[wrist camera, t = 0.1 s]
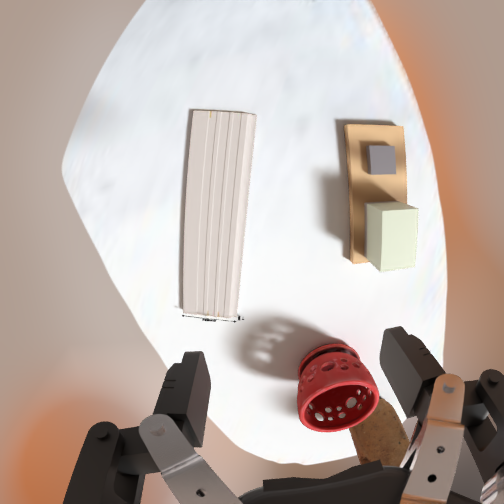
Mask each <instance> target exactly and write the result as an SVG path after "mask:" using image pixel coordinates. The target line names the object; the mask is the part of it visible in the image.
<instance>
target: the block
mask: <svg viewBox="0 0 504 504" xmlns="http://www.w3.org/2000/svg"><path fill="white" fill-rule="evenodd" d="M361 408H362V406H359V409H361ZM349 430H350V433H351V436H352V439H353V442H354V445H355V448H356V452H357V455H358V458H359V461H360V464H361V465H362V464H366V463H369V462H373V461H376V460H380V461H381V463H382V466H396V467H400V465H401V463H402V461H403V459H404V457H405V454H406V452H407V449H408V446H409V444H410V442H409V439H408V437H407V435H406V432H405V430H404V428H403V425H402V423H401V421H400V419H399V417H398V415H397V413H396V411H395V410H394V408H393V407H392V405H390V404H389V403H388V402H387V401H385V399H379V402H378V404H377V406H376V408H375V410H374V411H373V412H372V413H371V414H370V415H369V416H368V417H367V418H366V419H365V420H363V421H362V422H360V423H359V424H357V425H355V426H353V427H350V428H349Z"/></svg>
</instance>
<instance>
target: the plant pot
mask: <svg viewBox="0 0 504 504" xmlns="http://www.w3.org/2000/svg"><path fill="white" fill-rule="evenodd" d="M298 377H299V384H298V395H297V406H298V414H299V419H300V421H301V422H302V424H303V425H304V426H306V427H307V428H309V429H311V430H314V431H318V432H336V431H341V430H344V429H348V428H350V427H353V426H355V425H357V424H359V423H360V422H362V421H363V420H365V419H366V418H367V417H368V416H369V415H370V414H371V413H372V412H373V411H374V410H375V408H376V406H377V404H378V402H379V391H378V388H377V386H376V383H375V381H374V379H373V377H372V375H371V374H370V372H369V371H368V369H367V368H366V367H365V366H364V364H363V363H362V362H361V361H360V357H359V355H358V354H357V352H356V351H355V350H354V349H353V348H351V347H349V346H347V345H343V344H328V345H324V346H321V347H319V348H317V349H315V350H313V351H312V352H310V353H309V354H308V355H307V356H306V357H305V358H304V359H303V360H302V362H301V364H300V366H299V369H298ZM366 387H367V388H366ZM359 390H360V391H361V393H360V395H358V391H359ZM370 391H371V394H370ZM365 395H366V400H364V397H365ZM351 398H355V399H356V400H357V403H356V405H355V406H354V407H352V408H348V407H347V405H346V404H347V402H348V400H349V399H351ZM309 404H310V405H311V406H312V407H313V409H311V408H310V407H309ZM360 405H362V408H361V409H359V406H360ZM338 407H342V409H341V410H340V411H338V410H337V408H338ZM325 408H330V409H331V410H332V411H331V412H330V413H328V412H326V411H325ZM307 412H308V413H307ZM315 413H319V414H321V415H322V416H323V418H324V420H323V421H319V420H317V419H316V417H315ZM342 413H344V414H346V416H345V417H344V418H339V415H340V414H342ZM328 417H332V418H333V420H328Z"/></svg>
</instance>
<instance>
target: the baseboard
mask: <svg viewBox="0 0 504 504" xmlns="http://www.w3.org/2000/svg"><path fill="white" fill-rule="evenodd" d="M256 120H257V115H252V114H248V113H234V112H220V111H194V110H193V117H192V127H191V136H190V147H189V158H188V171H187V185H186V201H185V222H184V253H183V313H187V314H195V315H204V316H214V317H223V318H231V317H237V309H238V299H239V288H240V277H241V267H242V256H243V246H244V236H245V226H246V216H247V206H248V196H249V186H250V176H251V167H252V157H253V148H254V138H255V129H256ZM182 316H183V317H184V315H182ZM188 317H191V316H188ZM196 318H199V317H196ZM239 318H240V316H239V317H238V320H240V319H239ZM213 320H214V321H215V322H216V320H217V319H213ZM242 320H244V319H242ZM203 321H204V319H203ZM205 321H212V320H210V319H208V318H205ZM223 321H227V320H223ZM233 322H234V323H235V322H236V321H235V320H234V321H233Z"/></svg>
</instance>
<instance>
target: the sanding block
mask: <svg viewBox="0 0 504 504" xmlns="http://www.w3.org/2000/svg"><path fill="white" fill-rule="evenodd" d="M364 212H365V244H364V257H365V258H366V259H367V260H368V261H369V262H370V263H371V264H373V265H374V266H375V267H376V268H377V269H378V270H379V271H380V272H385V271H392V270H399V269H405V268H412V267H415V259H416V248H417V233H418V208H415V207H413V206H410V205H407V204H405V203H402V202H399V201H384V202H368V203H364Z"/></svg>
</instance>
